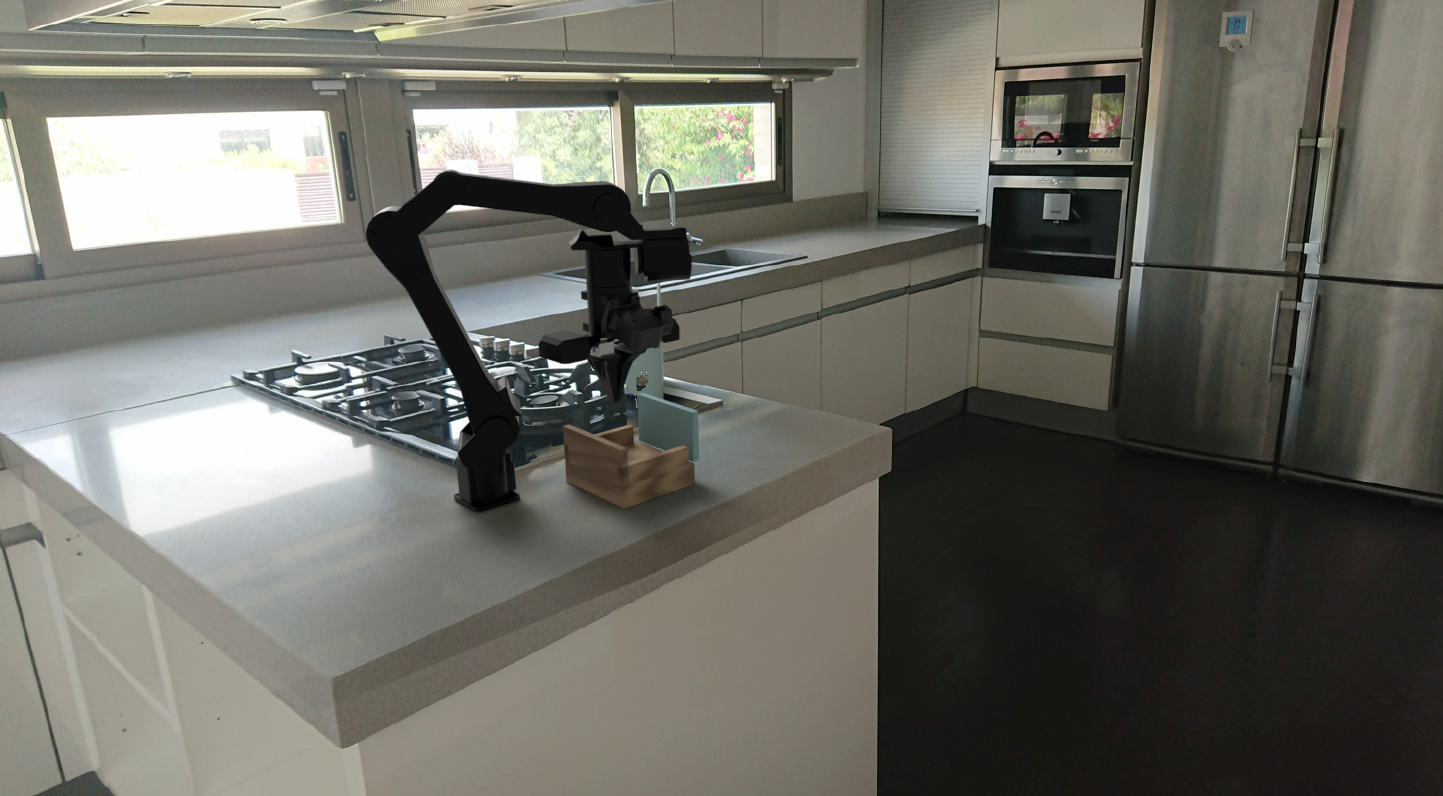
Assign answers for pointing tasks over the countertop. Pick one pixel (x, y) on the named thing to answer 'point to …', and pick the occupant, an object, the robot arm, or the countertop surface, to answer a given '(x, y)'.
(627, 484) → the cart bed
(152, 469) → the countertop surface
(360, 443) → the countertop surface
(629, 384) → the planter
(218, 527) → the countertop surface
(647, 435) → the panel
